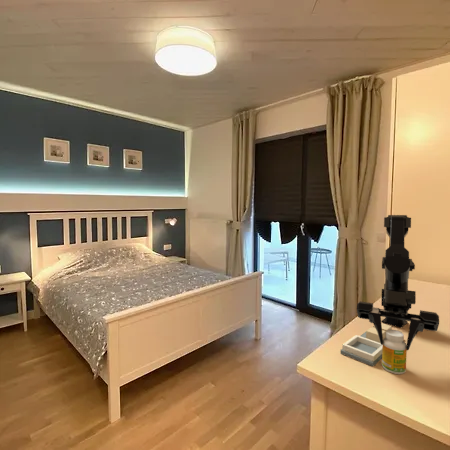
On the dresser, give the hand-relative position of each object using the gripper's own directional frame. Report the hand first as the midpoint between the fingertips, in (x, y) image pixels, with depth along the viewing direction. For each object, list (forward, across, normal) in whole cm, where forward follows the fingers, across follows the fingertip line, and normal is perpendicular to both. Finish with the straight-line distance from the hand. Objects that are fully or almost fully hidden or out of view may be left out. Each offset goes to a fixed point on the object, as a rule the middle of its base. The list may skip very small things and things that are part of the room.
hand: (394, 346), depth 73 cm
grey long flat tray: (-4, -6, +13) cm, 14 cm away
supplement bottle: (+4, 0, +6) cm, 7 cm away
